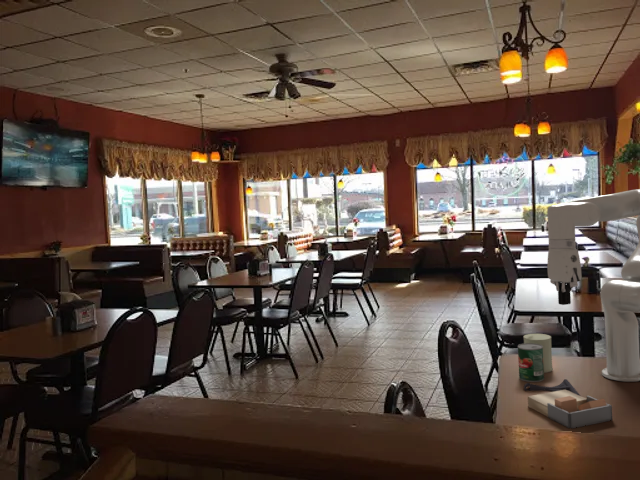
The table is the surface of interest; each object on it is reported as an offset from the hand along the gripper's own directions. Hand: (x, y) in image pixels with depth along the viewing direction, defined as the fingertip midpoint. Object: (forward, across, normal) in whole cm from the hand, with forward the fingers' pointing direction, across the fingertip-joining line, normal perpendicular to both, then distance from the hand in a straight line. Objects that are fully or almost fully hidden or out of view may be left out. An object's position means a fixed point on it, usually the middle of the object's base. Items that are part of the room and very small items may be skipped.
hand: (564, 304), depth 169 cm
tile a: (+23, -19, +9) cm, 31 cm away
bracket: (+28, +3, +5) cm, 29 cm away
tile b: (+24, -16, +16) cm, 33 cm away
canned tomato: (+27, +14, +2) cm, 31 cm away
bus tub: (+27, -19, +12) cm, 36 cm away
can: (+27, +22, -6) cm, 36 cm away
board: (+27, -10, +12) cm, 32 cm away
